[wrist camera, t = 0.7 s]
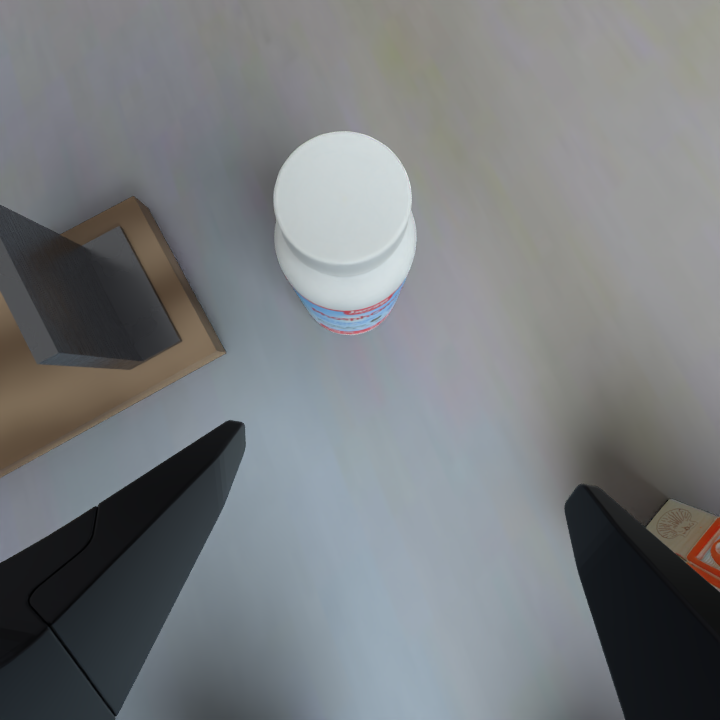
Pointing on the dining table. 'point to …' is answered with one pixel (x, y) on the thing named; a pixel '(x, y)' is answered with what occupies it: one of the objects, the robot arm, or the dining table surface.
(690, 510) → the stack of blocks
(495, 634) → the dining table surface
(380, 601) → the dining table surface
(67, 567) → the robot arm
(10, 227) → the bookend
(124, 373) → the shelf board
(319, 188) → the pill bottle
